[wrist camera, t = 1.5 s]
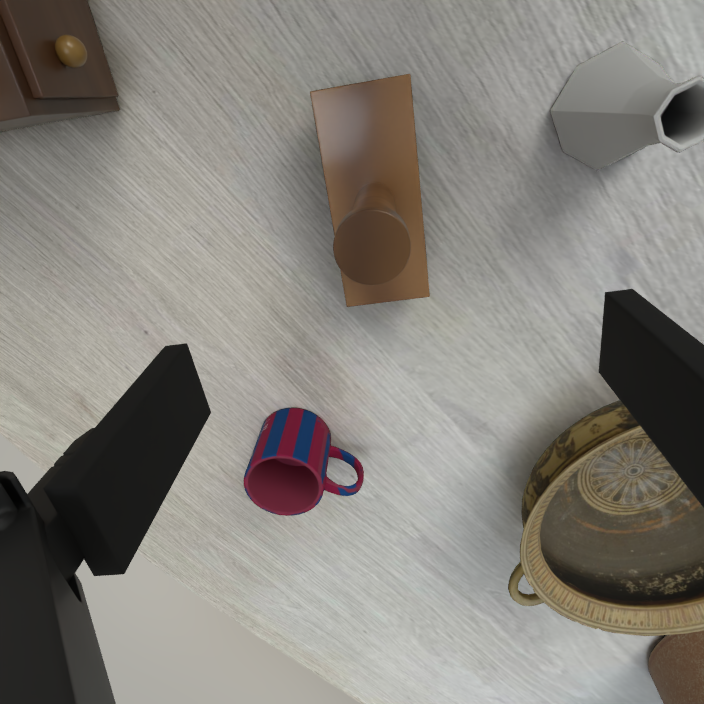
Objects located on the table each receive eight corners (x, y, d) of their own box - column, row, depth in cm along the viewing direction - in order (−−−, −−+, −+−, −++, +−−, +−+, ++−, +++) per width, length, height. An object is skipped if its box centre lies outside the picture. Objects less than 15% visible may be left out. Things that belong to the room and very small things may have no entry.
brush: (406, 76, 33) (423, 64, 19) (425, 276, 39) (447, 372, 26) (318, 91, 33) (275, 90, 20) (350, 285, 40) (333, 384, 26)
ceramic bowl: (558, 589, 55) (592, 684, 46) (419, 463, 48) (427, 547, 39) (849, 447, 44) (966, 535, 35) (726, 257, 37) (834, 309, 28)
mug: (269, 398, 45) (252, 445, 39) (373, 427, 46) (371, 477, 40) (255, 453, 48) (236, 504, 42) (352, 479, 49) (348, 533, 43)
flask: (687, 107, 33) (799, 113, 24) (591, 188, 35) (661, 221, 26) (625, 17, 31) (724, -14, 22) (529, 111, 33) (582, 117, 24)
